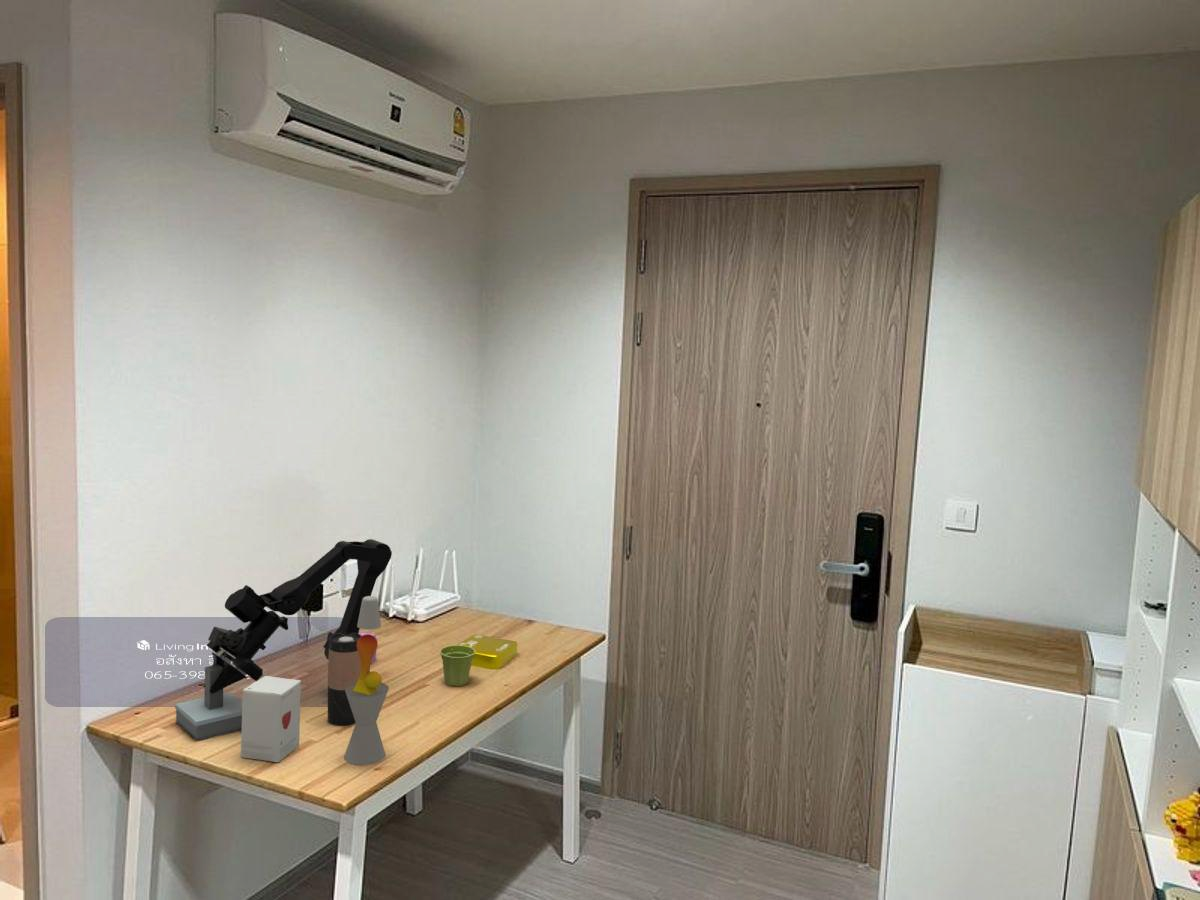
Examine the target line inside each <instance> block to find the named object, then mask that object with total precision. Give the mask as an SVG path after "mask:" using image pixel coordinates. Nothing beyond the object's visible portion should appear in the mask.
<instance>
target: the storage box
mask: <svg viewBox="0 0 1200 900" xmlns="http://www.w3.org/2000/svg"><path fill="white" fill-rule="evenodd" d="M175 710H176V711H175V713H176V714H175V718H176V719H175V722H176V724H177V725H178V726H179V727H180V728H181V729H182V730H184V731H185V732H186V734H187V735H189V736H190V737H191V738H192V737H193V738H192V739H193V740H194V741H196V742H198V741H203V740H208V739H211V738H215V737H218V736H224V735H226V734H229V733H235V732H237V731H242V715H241V716H237V717H233V718H228V719H224V720H220V721H216V722H212V723H208V724H204V725H200V726H195V725H194V724H193V723H192V722H190V721H189V720H188V719H187V718H186V717H185V716H184V715H182V714H181V713H180V712H179V711H178V710H177V709H175Z"/></svg>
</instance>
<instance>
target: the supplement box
mask: <svg viewBox="0 0 1200 900" xmlns="http://www.w3.org/2000/svg"><path fill="white" fill-rule="evenodd" d="M301 687H302V680H300V679H292V678H285V677H284V678H283V677H277V676H270V675H265V676H263V677H261V678H260V679H259V680H258V681H254V682H253V683H251V684H250V685H249V686H247V687H245V688H244V689H242V699H241V700H242V730H241V735H240V737H241V738H240V739H241V740H240V757H241V758H247V759H253V760H257V761H265V762H266V761H267V762H272V763H273V762H274V763H280V762H281V761H282V760H283V759H285V758H286V757H287V756H288V755H289V754H291V753H292V752H293V751H295V750H296V749H297V748H299V746H300V727H301V726H300V721H301V695H302V694H301V693H302V692H301V690H302V688H301Z"/></svg>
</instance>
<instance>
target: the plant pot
mask: <svg viewBox="0 0 1200 900" xmlns="http://www.w3.org/2000/svg"><path fill="white" fill-rule="evenodd" d="M475 652H476V651H475V649H474V648H472V647H469V646H463V645H457V644H453V645H447V646H444V647H441V649H440V650H439V654H440V657H441V659H442V665H443V666H442V668H443V678H444V680H443V681H444V683H445V684H446V685H447V686H450V687H451V686H456V687H462V686H465V685H467V684H468V682H469V677H470V672H471V662H472V659H473V656H474V654H475Z"/></svg>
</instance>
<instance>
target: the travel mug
mask: <svg viewBox="0 0 1200 900" xmlns="http://www.w3.org/2000/svg"><path fill="white" fill-rule="evenodd" d="M360 637H361V635H360V634H357V633H351V634H349V635H344V634H342V633H337V634H334V635H332V636H330V638H329V660H328V662H327V663H328V664H327V665H328V666H327V667H328V668H327V669H328V670H327V721H328V723H329V724H330V725H331V726H332V725H333V726H339V727H340V726H341V727H342V726H351V725H355V724H356V722H355V719H354V716H353V713H352V710H351V707H350V704H349V701H348V698H347V695H346V692H345V689H346V687H347V686H349V685H351V684H353V683H357V682H358V679H359V676H360V671H361V661H360V656H359V653H358V649H357V641H358V639H359V638H360Z"/></svg>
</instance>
